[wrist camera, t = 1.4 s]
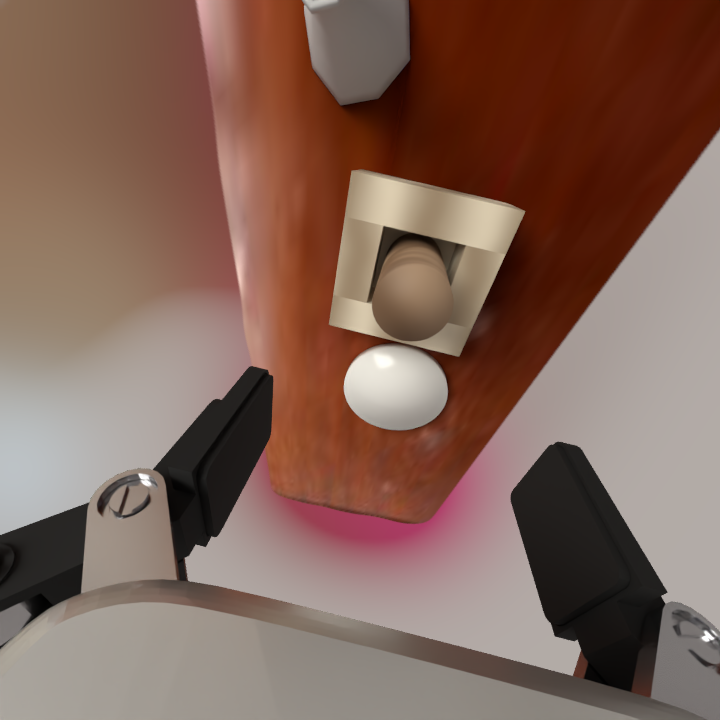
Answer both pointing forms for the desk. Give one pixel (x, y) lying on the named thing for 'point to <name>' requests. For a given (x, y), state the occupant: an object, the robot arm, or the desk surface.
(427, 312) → the walnut peg
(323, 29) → the flask
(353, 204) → the birch holder
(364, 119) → the desk surface
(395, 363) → the white round dome
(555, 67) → the desk surface
